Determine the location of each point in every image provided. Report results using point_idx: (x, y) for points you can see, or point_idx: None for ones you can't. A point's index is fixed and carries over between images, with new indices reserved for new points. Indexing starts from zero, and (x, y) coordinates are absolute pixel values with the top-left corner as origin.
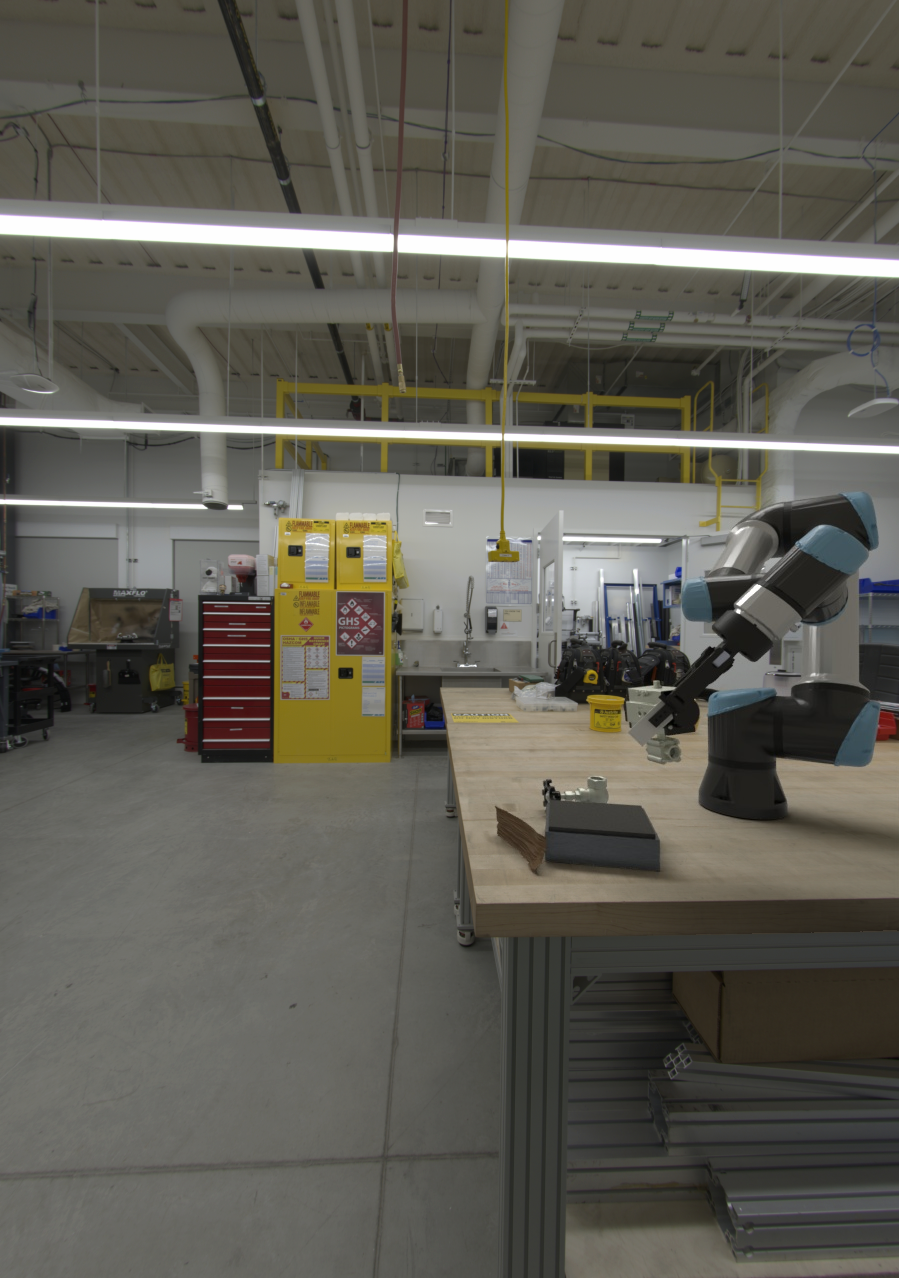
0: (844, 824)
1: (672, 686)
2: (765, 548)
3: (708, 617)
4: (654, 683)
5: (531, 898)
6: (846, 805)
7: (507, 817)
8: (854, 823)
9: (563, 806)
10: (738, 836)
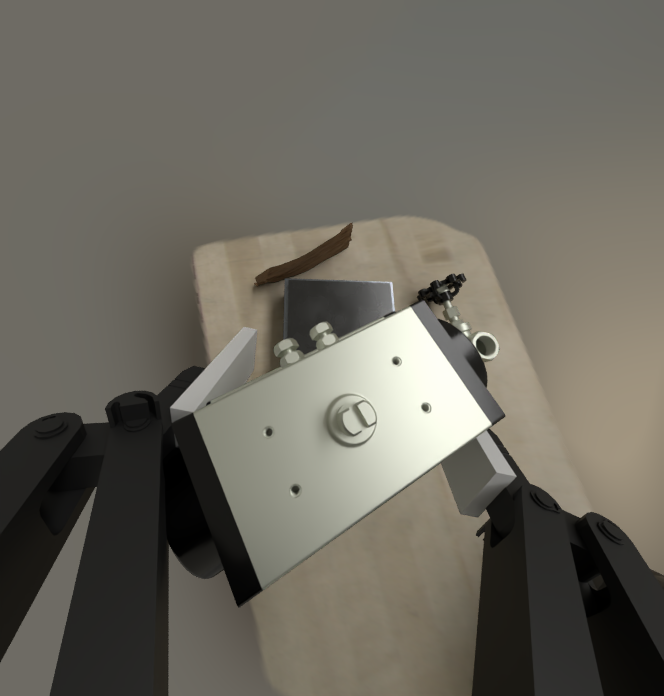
0: None
1: (561, 531)
2: None
3: None
4: (352, 405)
5: (204, 282)
6: None
7: (333, 241)
8: None
9: (367, 298)
10: (420, 536)
